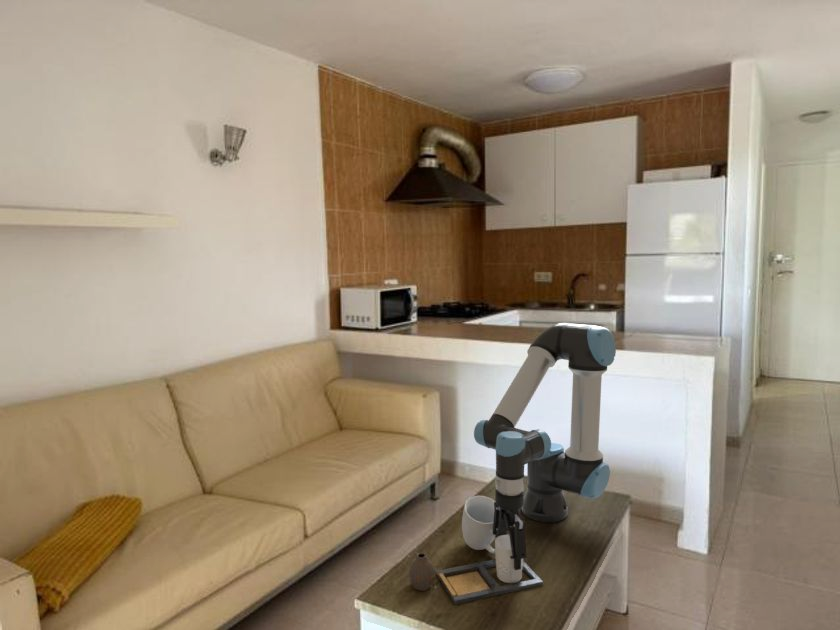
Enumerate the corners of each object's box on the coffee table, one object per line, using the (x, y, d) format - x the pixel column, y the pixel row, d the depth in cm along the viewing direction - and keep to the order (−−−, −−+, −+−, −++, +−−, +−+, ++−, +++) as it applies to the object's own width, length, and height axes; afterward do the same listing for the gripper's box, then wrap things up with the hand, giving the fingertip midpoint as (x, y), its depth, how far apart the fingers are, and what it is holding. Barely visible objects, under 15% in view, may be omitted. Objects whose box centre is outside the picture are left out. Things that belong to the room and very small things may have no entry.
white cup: (488, 576, 155) (488, 541, 154) (506, 565, 161) (506, 531, 160) (512, 588, 150) (512, 552, 149) (529, 576, 155) (530, 541, 154)
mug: (510, 557, 167) (518, 524, 161) (481, 572, 162) (488, 539, 156) (479, 522, 178) (486, 490, 172) (451, 534, 173) (456, 502, 167)
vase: (412, 596, 147) (412, 564, 146) (405, 581, 153) (405, 550, 152) (438, 591, 149) (438, 559, 148) (430, 576, 155) (430, 546, 154)
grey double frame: (517, 557, 164) (517, 554, 164) (542, 585, 151) (542, 580, 151) (436, 574, 157) (436, 570, 156) (455, 604, 143) (455, 599, 143)
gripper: (480, 477, 161) (479, 554, 163) (515, 508, 142) (513, 594, 144) (504, 474, 163) (503, 550, 166) (541, 504, 144) (539, 589, 146)
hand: (508, 570), depth 155 cm, fingers closed on white cup, 8 cm apart
